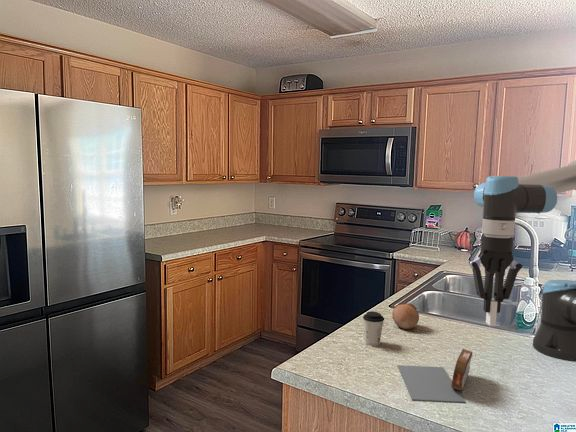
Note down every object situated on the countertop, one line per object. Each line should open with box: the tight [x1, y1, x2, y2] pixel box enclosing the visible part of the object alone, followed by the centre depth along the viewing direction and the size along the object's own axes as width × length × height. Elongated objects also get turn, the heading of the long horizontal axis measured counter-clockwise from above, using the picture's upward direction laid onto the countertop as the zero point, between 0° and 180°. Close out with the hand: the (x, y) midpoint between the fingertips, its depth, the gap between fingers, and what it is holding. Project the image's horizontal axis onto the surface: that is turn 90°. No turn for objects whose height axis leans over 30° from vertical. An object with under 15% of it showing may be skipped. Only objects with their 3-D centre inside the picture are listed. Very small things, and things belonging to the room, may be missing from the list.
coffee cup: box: [362, 310, 385, 347], centre depth 142 cm, size 7×7×10 cm
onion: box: [391, 302, 420, 330], centre depth 157 cm, size 10×9×10 cm
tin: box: [451, 348, 474, 391], centre depth 115 cm, size 15×3×8 cm, turn 149°
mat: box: [397, 364, 466, 404], centre depth 116 cm, size 13×19×1 cm
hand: (490, 324), depth 113 cm, fingers closed
